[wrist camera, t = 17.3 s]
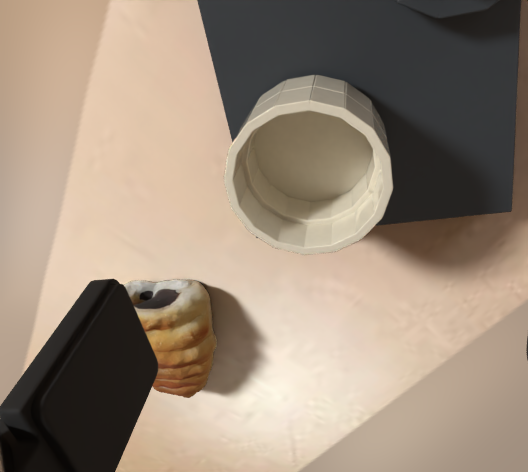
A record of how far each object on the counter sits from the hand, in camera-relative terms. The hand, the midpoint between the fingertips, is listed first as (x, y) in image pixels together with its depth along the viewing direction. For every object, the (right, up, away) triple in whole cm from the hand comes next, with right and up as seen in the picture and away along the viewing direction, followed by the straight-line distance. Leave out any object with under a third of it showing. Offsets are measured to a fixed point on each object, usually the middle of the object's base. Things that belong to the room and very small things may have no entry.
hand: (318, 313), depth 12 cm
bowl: (+1, +6, +13) cm, 14 cm away
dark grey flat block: (+3, +10, +12) cm, 16 cm away
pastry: (-7, -4, +23) cm, 24 cm away
